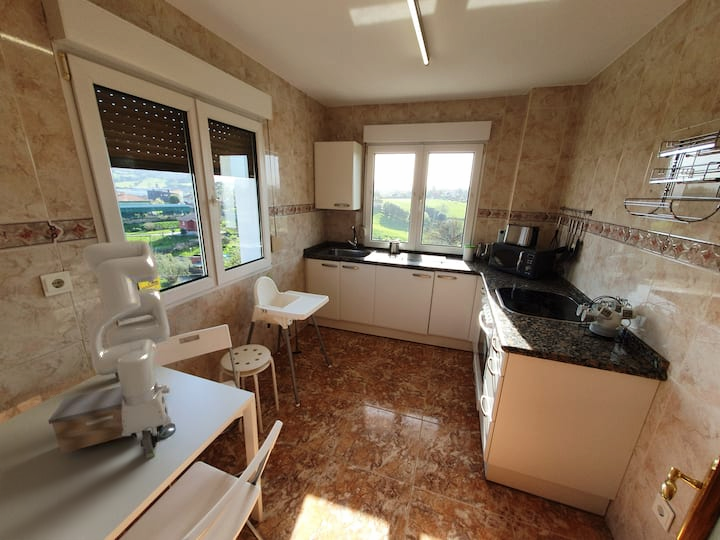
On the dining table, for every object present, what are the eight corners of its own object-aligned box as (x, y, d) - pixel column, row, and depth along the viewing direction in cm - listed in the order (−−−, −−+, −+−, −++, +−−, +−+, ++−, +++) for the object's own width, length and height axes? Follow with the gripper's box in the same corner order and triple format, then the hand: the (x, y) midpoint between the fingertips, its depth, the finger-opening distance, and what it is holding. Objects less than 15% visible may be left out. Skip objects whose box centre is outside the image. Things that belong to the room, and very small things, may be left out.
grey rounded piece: (164, 426, 94) (164, 422, 93) (179, 427, 94) (178, 423, 93) (153, 439, 89) (153, 435, 89) (169, 439, 89) (168, 435, 89)
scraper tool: (160, 425, 91) (155, 408, 88) (155, 455, 83) (149, 438, 80) (152, 427, 91) (147, 410, 87) (146, 458, 82) (140, 441, 79)
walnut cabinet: (155, 418, 97) (148, 380, 93) (149, 440, 88) (141, 399, 84) (76, 438, 88) (65, 398, 84) (61, 465, 80) (47, 421, 76)
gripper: (174, 378, 86) (182, 427, 90) (110, 392, 79) (122, 444, 84) (171, 393, 79) (179, 445, 84) (100, 410, 73) (114, 465, 77)
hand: (151, 444), depth 84 cm, fingers closed on scraper tool, 1 cm apart
